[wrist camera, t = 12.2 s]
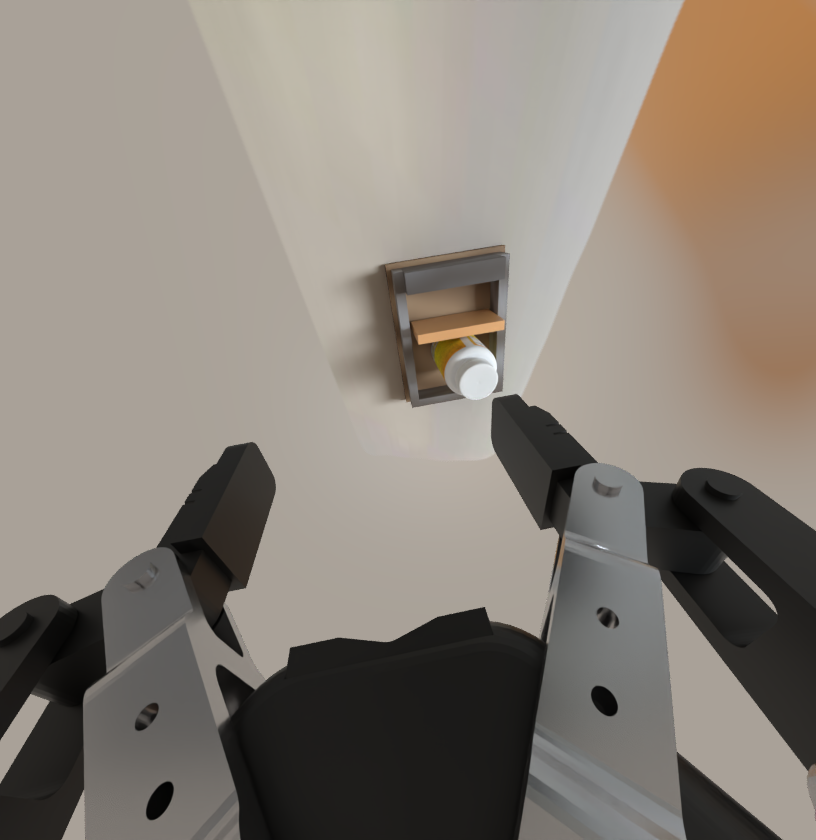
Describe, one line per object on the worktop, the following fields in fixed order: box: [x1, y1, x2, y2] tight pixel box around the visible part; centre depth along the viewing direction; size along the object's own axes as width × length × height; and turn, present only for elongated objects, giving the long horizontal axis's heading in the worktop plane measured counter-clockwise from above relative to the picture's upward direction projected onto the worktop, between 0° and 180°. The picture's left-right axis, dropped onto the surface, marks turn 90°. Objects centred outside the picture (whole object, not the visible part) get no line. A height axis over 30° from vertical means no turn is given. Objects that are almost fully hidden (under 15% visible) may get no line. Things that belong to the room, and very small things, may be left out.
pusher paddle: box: [411, 309, 505, 345], centre depth 33 cm, size 1×9×5 cm, turn 97°
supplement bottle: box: [431, 335, 498, 400], centre depth 34 cm, size 6×6×10 cm
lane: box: [385, 245, 510, 408], centre depth 35 cm, size 17×13×5 cm
